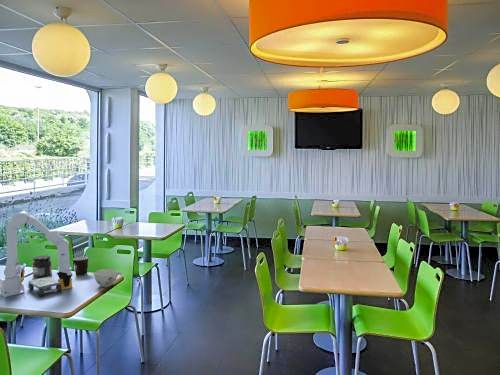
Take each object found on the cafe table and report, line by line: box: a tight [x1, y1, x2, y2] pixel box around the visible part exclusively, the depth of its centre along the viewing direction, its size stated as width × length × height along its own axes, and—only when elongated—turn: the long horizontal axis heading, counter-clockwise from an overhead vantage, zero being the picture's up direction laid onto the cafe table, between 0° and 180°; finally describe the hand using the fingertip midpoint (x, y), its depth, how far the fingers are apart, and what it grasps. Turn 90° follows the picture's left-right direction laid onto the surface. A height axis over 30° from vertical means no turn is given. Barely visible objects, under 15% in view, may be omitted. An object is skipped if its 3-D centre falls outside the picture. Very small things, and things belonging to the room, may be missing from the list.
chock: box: [57, 278, 73, 291], centre depth 237 cm, size 4×6×5 cm, turn 134°
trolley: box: [27, 276, 63, 298], centre depth 231 cm, size 11×20×5 cm, turn 44°
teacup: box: [93, 268, 123, 288], centre depth 240 cm, size 15×12×8 cm
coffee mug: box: [72, 256, 89, 277], centre depth 262 cm, size 12×9×10 cm
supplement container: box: [31, 255, 53, 279], centre depth 259 cm, size 10×10×12 cm
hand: (65, 285), depth 237 cm, fingers closed on chock, 4 cm apart
